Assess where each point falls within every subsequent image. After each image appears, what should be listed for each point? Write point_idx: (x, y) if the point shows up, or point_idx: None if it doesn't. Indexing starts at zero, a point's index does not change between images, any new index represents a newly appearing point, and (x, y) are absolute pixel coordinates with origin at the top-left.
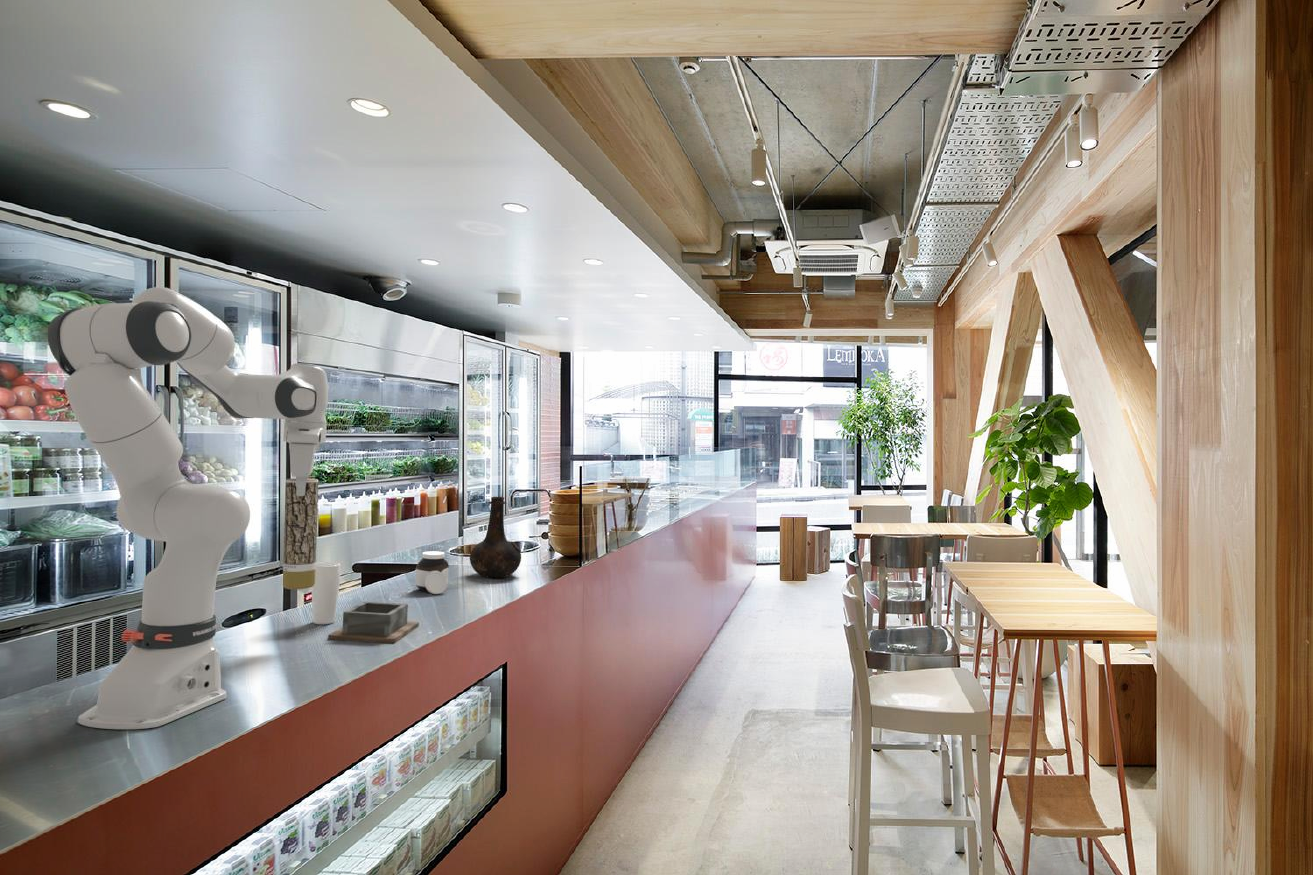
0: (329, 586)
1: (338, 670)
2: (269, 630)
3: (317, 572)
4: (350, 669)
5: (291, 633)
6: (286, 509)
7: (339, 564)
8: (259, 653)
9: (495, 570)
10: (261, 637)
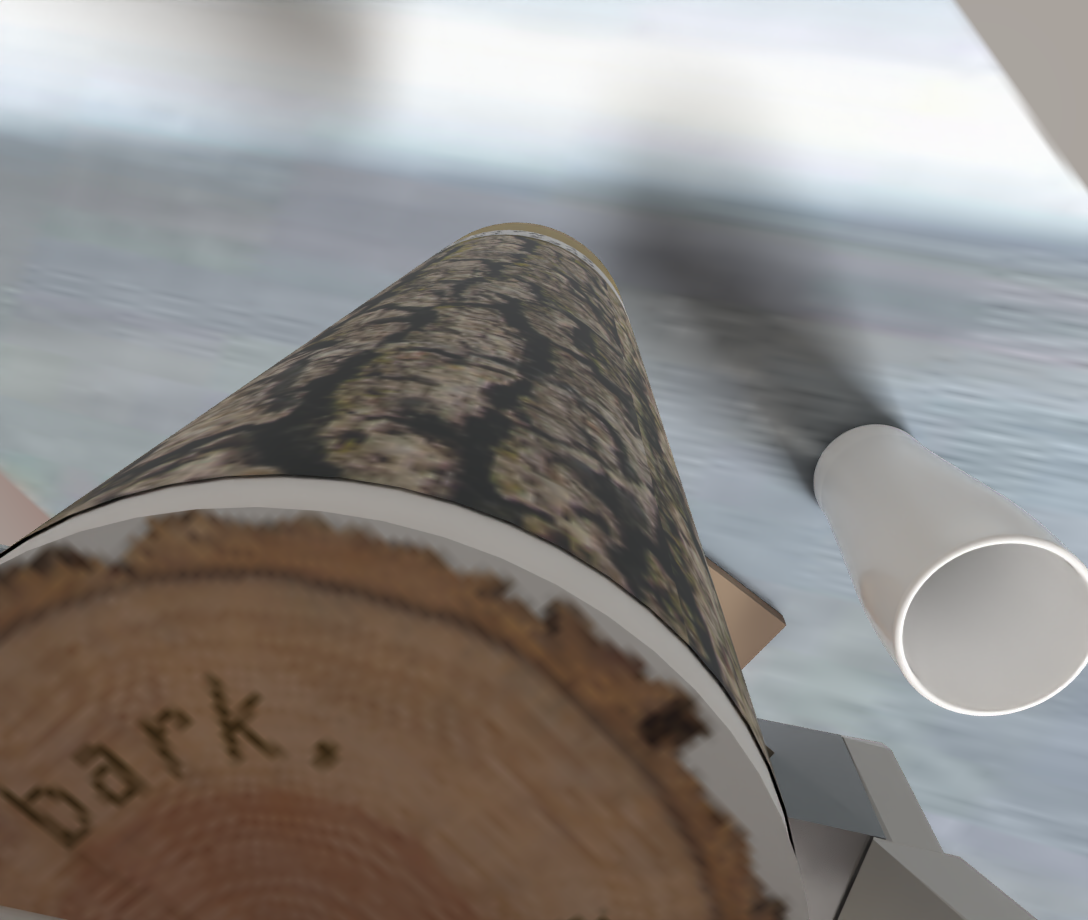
0: (852, 566)
1: (17, 349)
2: (845, 194)
3: (921, 536)
4: (16, 396)
5: (724, 287)
6: (360, 322)
7: (937, 702)
8: (412, 76)
9: None
10: (718, 132)
